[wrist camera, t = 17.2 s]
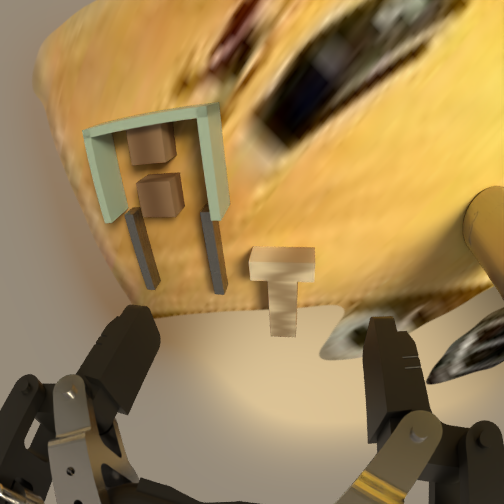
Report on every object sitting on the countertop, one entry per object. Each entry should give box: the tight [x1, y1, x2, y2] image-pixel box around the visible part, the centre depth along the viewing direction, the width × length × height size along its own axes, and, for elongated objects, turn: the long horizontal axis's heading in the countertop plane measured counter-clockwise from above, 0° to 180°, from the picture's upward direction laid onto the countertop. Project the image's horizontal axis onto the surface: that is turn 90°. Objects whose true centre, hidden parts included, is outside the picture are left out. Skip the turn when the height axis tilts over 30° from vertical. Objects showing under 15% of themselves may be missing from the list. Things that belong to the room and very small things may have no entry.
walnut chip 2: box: [136, 173, 185, 217], centre depth 31 cm, size 4×4×3 cm
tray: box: [82, 102, 230, 223], centre depth 29 cm, size 14×11×4 cm
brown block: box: [126, 121, 177, 165], centre depth 28 cm, size 4×4×3 cm
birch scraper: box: [249, 246, 315, 337], centre depth 36 cm, size 7×3×12 cm
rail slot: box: [125, 205, 228, 295], centre depth 36 cm, size 11×11×2 cm
